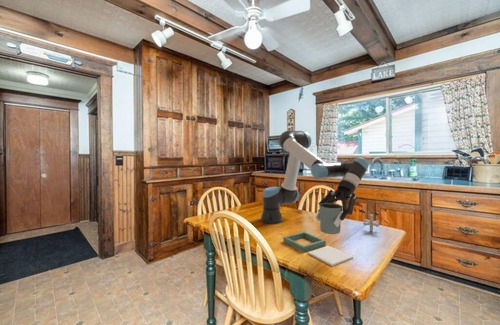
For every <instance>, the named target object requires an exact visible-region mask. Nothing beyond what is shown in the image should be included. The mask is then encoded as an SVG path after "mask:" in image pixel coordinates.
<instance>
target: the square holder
mask: <svg viewBox="0 0 500 325" xmlns="http://www.w3.org/2000/svg"><path fill="white" fill-rule="evenodd" d="M302 238H306V239H308V240H310V241H313V242H311V243H308V244H305V245H303V244H302V243H301V244H300V243H298V242H297V241H295V240H298V239H302ZM282 239H283V243H286V244H287V245H289V246H291V247H293V248H295V249H296V250H298V251H300V252H303V253H306V252H310V251H313V250H316V249H319V248H322V247H326V246H327V244H326V243H327V242H326V240H325V239H323V238H320V237H318V236H316V235H313V234H312V233H309V232H306V231H302V232H298V233H294V234H291V235H287V236H283V238H282Z"/></svg>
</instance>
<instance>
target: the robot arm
mask: <svg viewBox="0 0 500 325" xmlns="http://www.w3.org/2000/svg"><path fill="white" fill-rule="evenodd" d="M278 144H279V147H281V149H282V150H284V151H285V152H287V153H289V154H288V160H287V165H286V170H285V175H284V180H283V182H282V183H281V185H280V186H269V187H266V188H264V189H263V190H262V212H261V216H260V221H261V222H262V223H264V224H269V225H270V224H279V223H282V222H283V217H282V213H281V211H280V207H281V206H282V205H288V204H294V203H295V202H297V201H298V200H299V198H300V193H299V190H298V187H297V186H296V185H297V184H296V183H297V180H298V175H299V171H300V166H301V163H302V164H303V165H304V166H305V167H307V168H308V169H309V170H310V174H311V175H312V177H313V178H316V179H326V178H339V177H342V179H341V180H340V182H339V184H337V188H336V190H333V189H330V190H329V191H328V193H327V194H326V195H325V196H324V197H323V198H322V199H321V200H320V201H319V202H318V205H319V204H321V203H335V202H338V201H341V202H342V207H343V208H342V211H340V213H339V215H338V216H337V218H336V220H335V222H334V224H335V225H336V227H338V226H339V225H340V223H342V221H344V220H345V218H346V217H347V215H350V216H351V215H353V212H354V207H355V202H356V201H357V199H358V197H357V195H356V194H355V191H356V189H357V187H358V186H359V184H360V182H361V181H362V179H363V177H364V175H365V174H366V172H367V171H368V168H369V162H368V161H367V160H366V158H364V157H359V156H358V157H355V158H354V159H353V160H352V161H350V162H349V161H348V162H339V161H337V162H325V161H324V160H322V159H321V158H319V157H318V156H317V155H315V154H314V153H312V152H311V151H310V150H308V149H309V148H310V147H311V145H312V138H311V135H310V134H309V132H307V131H304V130H285V131H283V132H282V133H281V134H280V135H279V138H278ZM348 200H349V201H348ZM280 205H281V206H280ZM315 219H316V220H317V221H318V222H319V221H320V211H319V209H318V210H317V213H316V215H315Z"/></svg>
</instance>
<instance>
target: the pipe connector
mask: <svg viewBox="0 0 500 325" xmlns="http://www.w3.org/2000/svg"><path fill="white" fill-rule="evenodd" d="M362 224H363V226H369V232H370V231H373V232H374V227H376V228H379V227H380V221H379V220H374V214H369V219H366V218H364V219H363V223H362Z"/></svg>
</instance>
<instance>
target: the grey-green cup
mask: <svg viewBox="0 0 500 325" xmlns="http://www.w3.org/2000/svg"><path fill="white" fill-rule="evenodd" d="M318 205H319V206H318V207H319V209H318V210H319V211H320V222H319V225H320V226H319V228H320V231H321V232H322V233H324V234H328V235H338V234H340V233H341V228H342V227H341V225H342V224H341V223H342V222H341V223H340V225H339V226H338V227H336V225H335V224H334V222H335V220H336V218H337V216H338V215H339V213H340V211H342V210H343V205H342V204H338V203H335V202H334V203H321V204H319V203H318ZM342 212H343V211H342Z"/></svg>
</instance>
